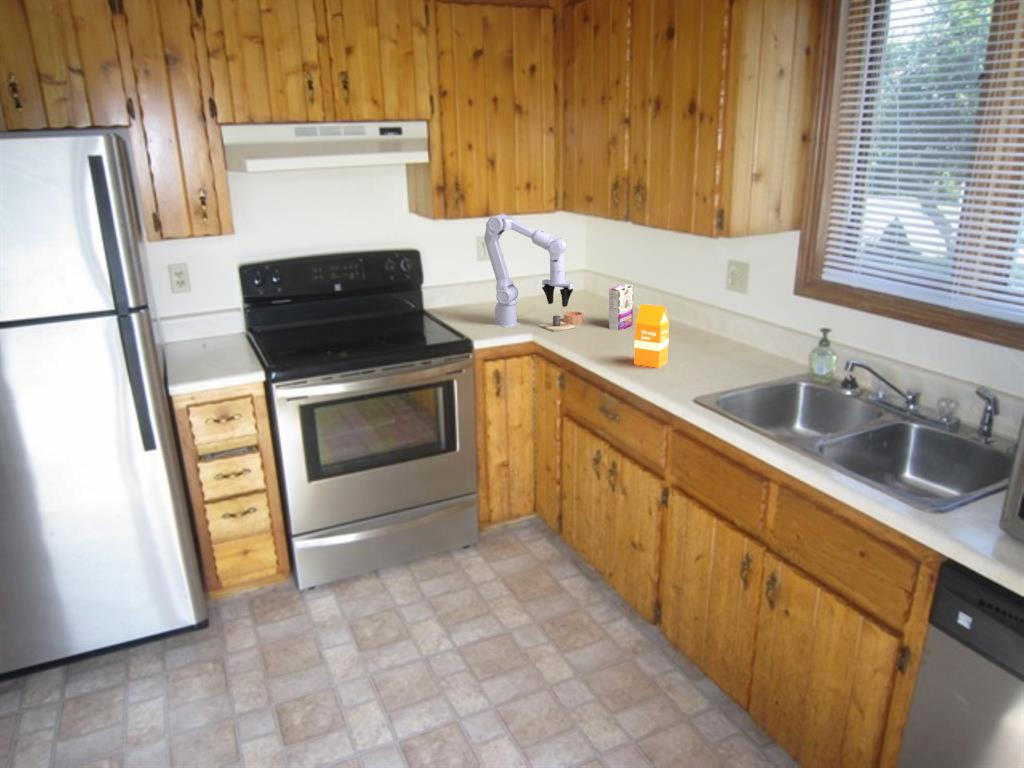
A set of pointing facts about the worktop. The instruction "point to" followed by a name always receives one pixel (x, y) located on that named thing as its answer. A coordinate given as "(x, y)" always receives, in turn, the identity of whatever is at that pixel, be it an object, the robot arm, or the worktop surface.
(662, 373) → the worktop surface
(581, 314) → the bowl
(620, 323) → the candy bar box
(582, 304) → the worktop surface
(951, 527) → the worktop surface
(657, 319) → the orange juice
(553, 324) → the lid
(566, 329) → the mat
